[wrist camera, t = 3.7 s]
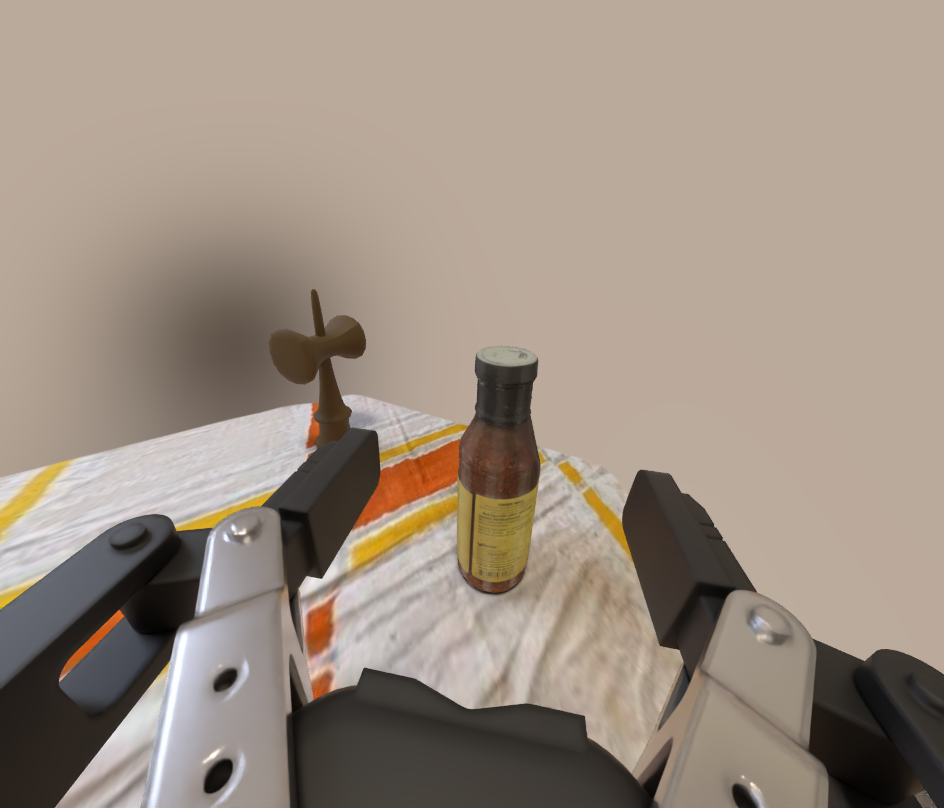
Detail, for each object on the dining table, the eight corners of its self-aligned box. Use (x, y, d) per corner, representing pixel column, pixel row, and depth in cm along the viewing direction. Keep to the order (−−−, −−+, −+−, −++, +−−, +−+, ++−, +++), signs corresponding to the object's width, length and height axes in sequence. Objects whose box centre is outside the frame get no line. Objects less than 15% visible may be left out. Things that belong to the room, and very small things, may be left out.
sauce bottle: (538, 562, 31) (583, 357, 22) (497, 613, 27) (532, 385, 17) (482, 524, 35) (501, 334, 25) (438, 563, 30) (442, 352, 21)
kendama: (291, 457, 42) (251, 292, 33) (344, 422, 50) (324, 280, 41) (329, 471, 40) (298, 299, 31) (378, 432, 48) (365, 286, 39)
